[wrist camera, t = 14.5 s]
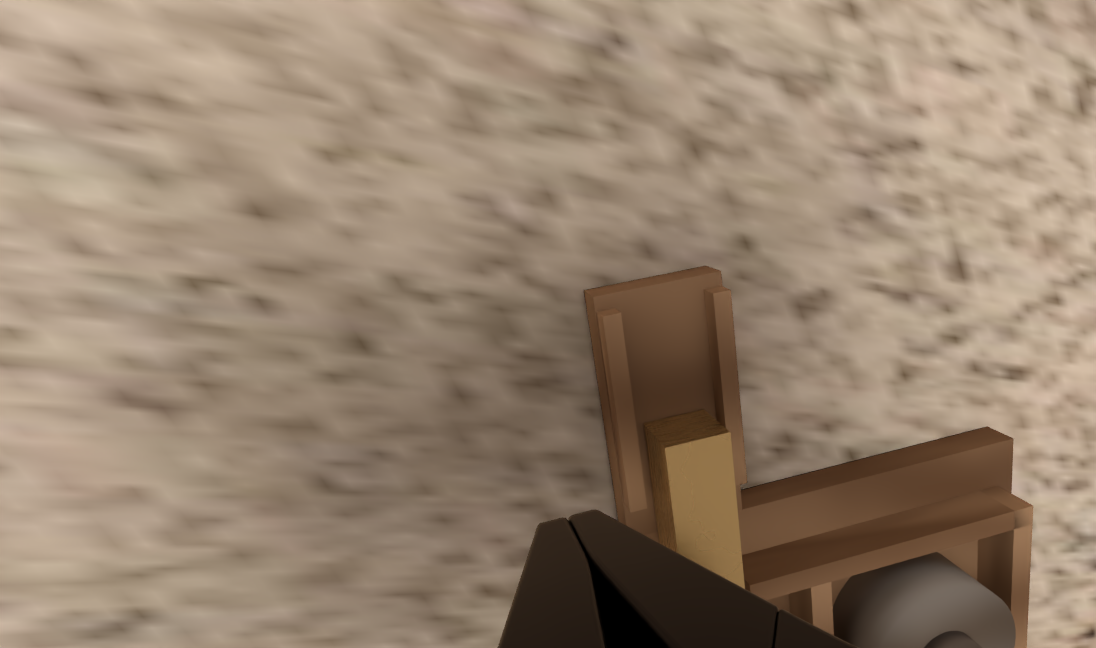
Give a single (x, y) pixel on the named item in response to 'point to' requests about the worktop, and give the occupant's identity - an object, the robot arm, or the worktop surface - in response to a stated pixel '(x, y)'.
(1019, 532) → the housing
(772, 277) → the worktop surface
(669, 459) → the bar
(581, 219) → the worktop surface
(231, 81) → the worktop surface
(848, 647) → the robot arm
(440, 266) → the worktop surface
